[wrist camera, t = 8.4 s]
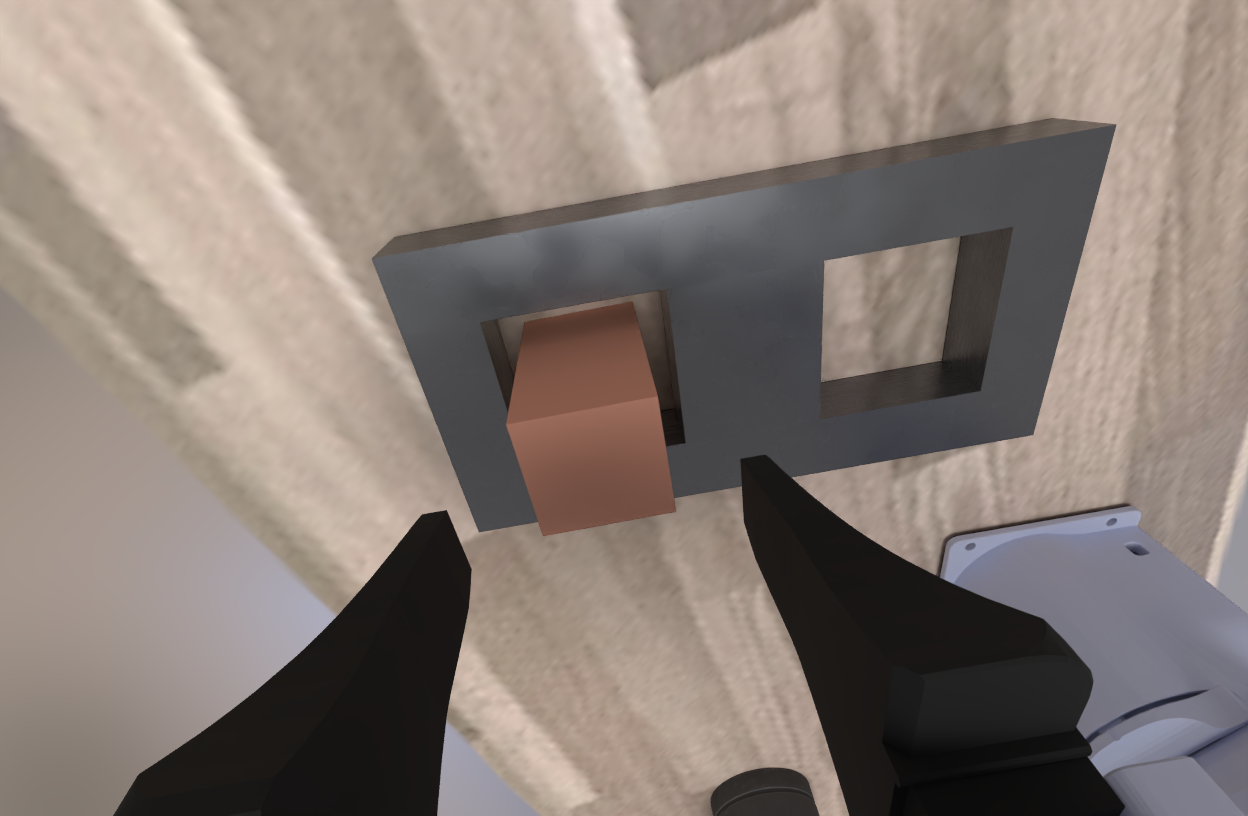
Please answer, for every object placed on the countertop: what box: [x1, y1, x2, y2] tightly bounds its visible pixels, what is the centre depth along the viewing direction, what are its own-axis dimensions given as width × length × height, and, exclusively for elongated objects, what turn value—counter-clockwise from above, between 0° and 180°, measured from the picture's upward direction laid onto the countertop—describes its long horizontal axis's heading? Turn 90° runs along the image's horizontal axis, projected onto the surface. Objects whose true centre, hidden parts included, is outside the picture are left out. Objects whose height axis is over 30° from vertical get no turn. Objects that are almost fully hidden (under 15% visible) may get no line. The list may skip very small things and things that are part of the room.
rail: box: [372, 118, 1116, 532], centre depth 20 cm, size 22×11×2 cm, turn 99°
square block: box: [506, 302, 676, 536], centre depth 19 cm, size 4×4×7 cm
